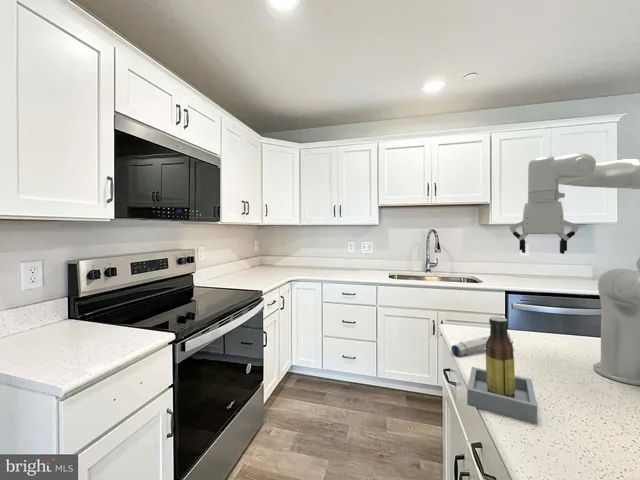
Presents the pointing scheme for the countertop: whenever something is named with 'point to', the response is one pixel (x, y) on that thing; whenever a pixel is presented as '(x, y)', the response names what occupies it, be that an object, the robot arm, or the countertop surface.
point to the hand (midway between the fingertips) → (542, 252)
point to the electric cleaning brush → (471, 346)
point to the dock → (503, 397)
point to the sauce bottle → (500, 359)
